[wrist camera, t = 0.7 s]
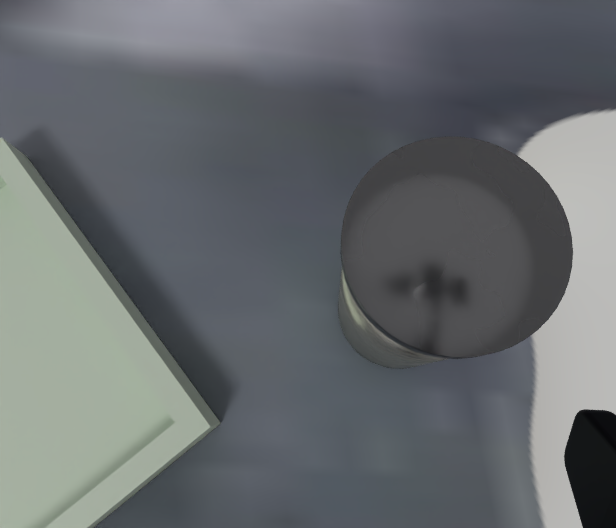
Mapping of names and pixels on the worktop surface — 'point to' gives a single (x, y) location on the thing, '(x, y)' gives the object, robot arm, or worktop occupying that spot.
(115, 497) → the tray
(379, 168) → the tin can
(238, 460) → the worktop surface
